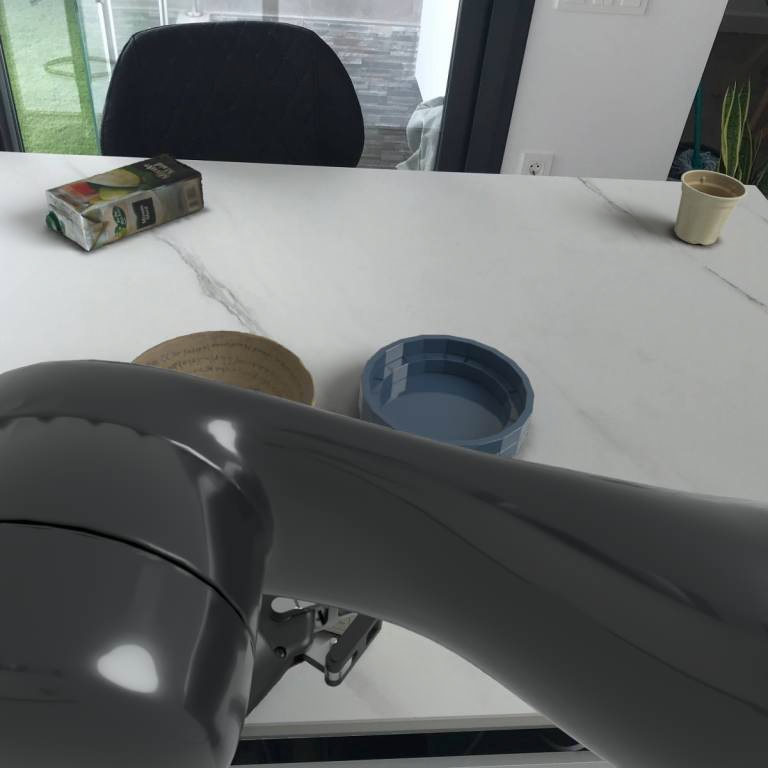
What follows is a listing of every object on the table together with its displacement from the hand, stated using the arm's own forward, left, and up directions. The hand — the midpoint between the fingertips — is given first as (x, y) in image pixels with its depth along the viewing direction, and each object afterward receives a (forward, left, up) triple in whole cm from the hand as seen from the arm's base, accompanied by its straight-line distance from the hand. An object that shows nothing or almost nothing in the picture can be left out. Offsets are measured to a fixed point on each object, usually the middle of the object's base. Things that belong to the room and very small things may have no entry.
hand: (348, 528), depth 59 cm
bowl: (+20, -1, -8) cm, 22 cm away
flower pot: (+16, -83, -8) cm, 85 cm away
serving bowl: (+10, -22, -8) cm, 26 cm away
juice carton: (+67, -16, -8) cm, 70 cm away
